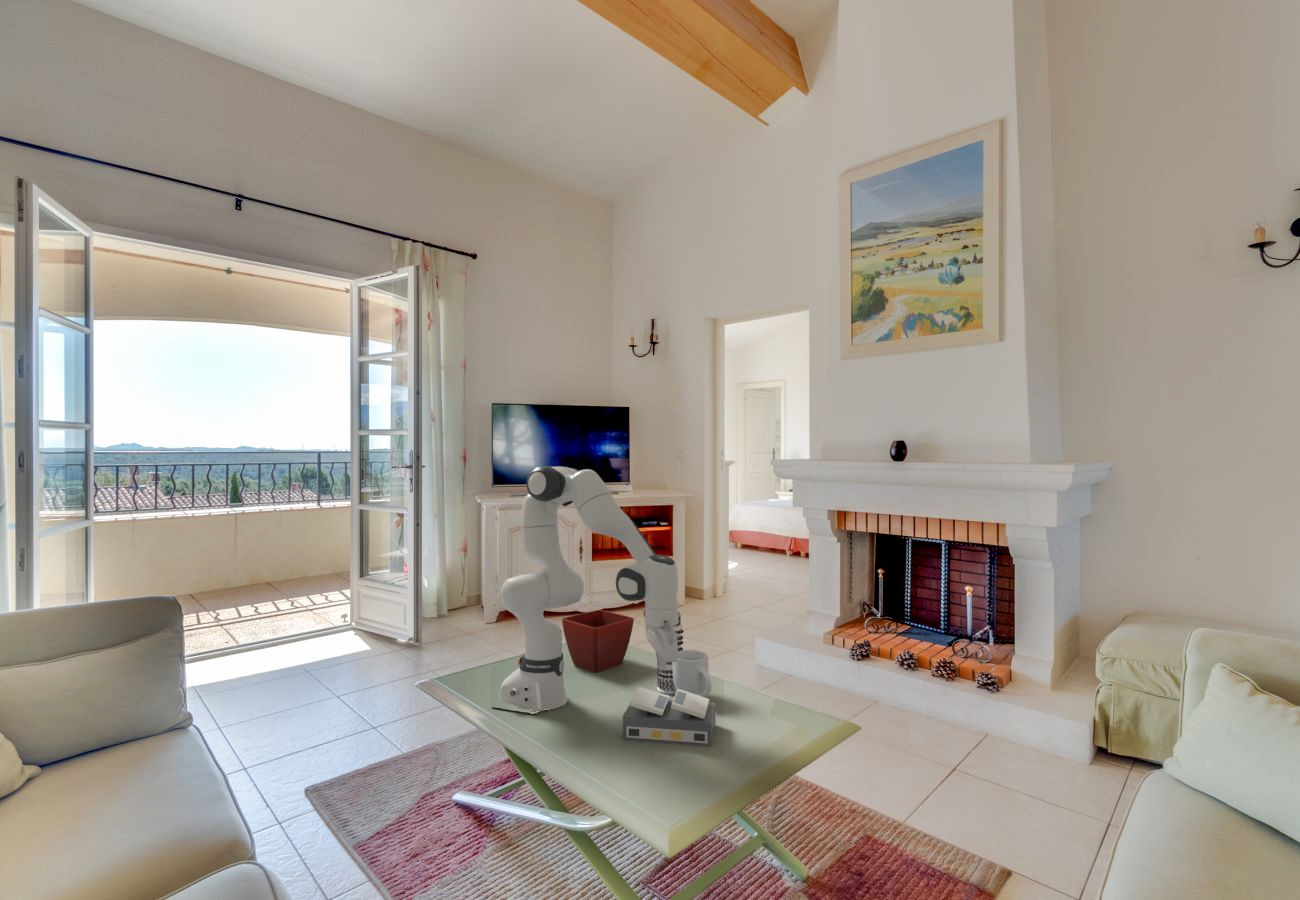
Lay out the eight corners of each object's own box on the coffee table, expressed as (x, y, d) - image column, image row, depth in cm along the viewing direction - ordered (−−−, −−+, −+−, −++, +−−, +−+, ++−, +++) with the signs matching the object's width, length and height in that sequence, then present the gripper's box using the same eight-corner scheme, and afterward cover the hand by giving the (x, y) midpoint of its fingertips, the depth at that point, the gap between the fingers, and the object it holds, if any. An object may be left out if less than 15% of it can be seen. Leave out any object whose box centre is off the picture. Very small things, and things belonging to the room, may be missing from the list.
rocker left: (629, 705, 157) (629, 701, 157) (637, 690, 167) (638, 686, 167) (662, 715, 155) (663, 711, 155) (668, 699, 166) (669, 695, 166)
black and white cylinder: (686, 684, 195) (684, 607, 196) (682, 695, 186) (681, 613, 187) (658, 683, 196) (657, 606, 197) (653, 693, 187) (652, 612, 188)
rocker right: (670, 707, 155) (671, 703, 155) (676, 692, 165) (677, 688, 165) (704, 719, 153) (705, 715, 153) (708, 702, 164) (709, 698, 164)
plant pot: (635, 664, 216) (635, 617, 216) (595, 678, 202) (595, 627, 202) (600, 653, 229) (600, 609, 229) (560, 665, 215) (560, 618, 215)
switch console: (622, 740, 155) (622, 711, 156) (633, 719, 168) (633, 693, 169) (711, 747, 151) (711, 717, 151) (715, 724, 164) (715, 698, 164)
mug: (724, 703, 179) (723, 659, 179) (695, 712, 173) (694, 666, 173) (693, 688, 191) (693, 647, 192) (665, 696, 185) (665, 653, 185)
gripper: (683, 626, 152) (683, 681, 152) (663, 606, 172) (663, 655, 171) (659, 628, 150) (659, 683, 150) (641, 608, 170) (641, 656, 170)
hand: (661, 668), depth 161 cm, fingers closed
